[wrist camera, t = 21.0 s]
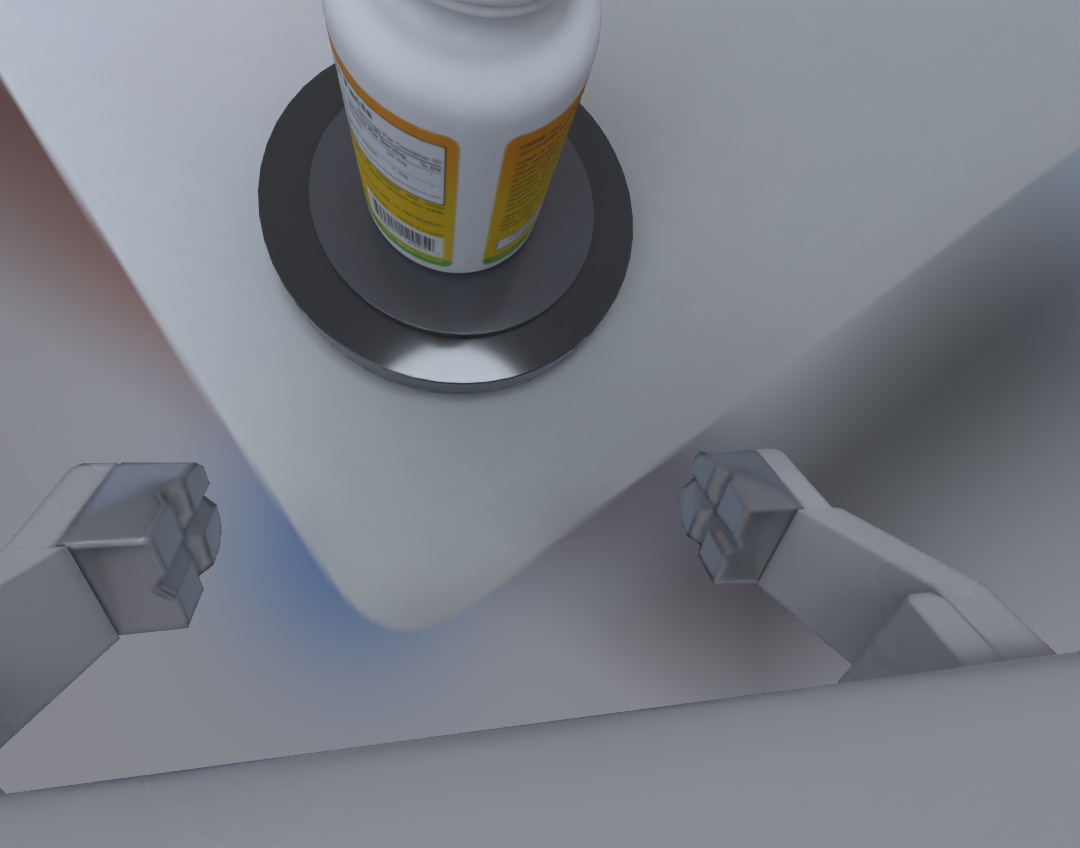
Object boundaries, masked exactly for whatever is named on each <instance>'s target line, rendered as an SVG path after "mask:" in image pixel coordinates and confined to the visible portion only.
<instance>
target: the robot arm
mask: <svg viewBox="0 0 1080 848" xmlns="http://www.w3.org/2000/svg"><path fill="white" fill-rule="evenodd" d="M690 469H691V472H692V474H693V476H694V478H693V479H692V480H691V481H690V482H689V483H688V484H686V485H685V486H684V487H683V490H682V494H681V497H680V500H679V515H680V519H681V523H682V526H683V528H684V530H685V532H686V534H687V536H688V537H689V538H691V539H692V540H694V541H695V542H696V543H698V544H699V545H701V546H700V549H699V553H698V556H699V558H700V560H701V562H702V564H703V566H704V567H705V569H706V571H707V573H708V575H709V577H710V578H711V580H712V582H713V584H714V585H721V584H741V583H758V584H757V585H758V586H759V587H760V588H761V589H762V590H764V591H765V592H766V593H767V594H768V595H770V596H771V597H772V598H773V599H774V600H776V601H777V602H778V603H779V604H780V605H781V606H783V607H784V608H785V609H786V610H788V611H789V612H790V613H791V614H792V615H793V616H795V617H796V618H797V619H798V620H799V621H801V622H802V623H803V624H804V625H805V626H807V627H808V628H809V629H810V630H811V631H813V632H814V633H815V634H816V635H817V636H819V637H820V638H821V639H822V640H823V641H824V642H826V643H827V644H828V645H829V646H830V647H832V648H833V649H834V650H835V651H836V652H837V653H839V654H840V655H841V656H843V657H844V658H845V659H846V660H847V661H848V662H849V663H851V664H852V665H851V666H850V667H849V668H848V670H847V671H846V672H845V673H844V675H843V676H842V677H841V678H840V680H839V681H838V683H837V684H830V685H823V686H815V687H807V688H800V689H792V690H785V691H778V692H769V693H762V694H754V695H747V696H739V697H732V698H724V699H717V700H709V701H702V702H694V703H687V704H679V705H672V706H664V707H656V708H649V709H641V710H634V711H626V712H619V713H611V714H603V715H596V716H588V717H581V718H573V719H566V720H558V721H550V722H543V723H535V724H528V725H520V726H513V727H505V728H497V729H490V730H482V731H475V732H467V733H459V734H452V735H444V736H437V737H429V738H422V739H414V740H407V741H399V742H392V743H384V744H377V745H369V746H362V747H354V748H347V749H340V750H332V751H324V752H317V753H309V754H302V755H294V756H287V757H279V758H272V759H264V760H257V761H249V762H241V763H234V764H226V765H219V766H212V767H205V768H196V769H189V770H181V771H174V772H167V773H159V774H152V775H144V776H137V777H129V778H121V779H113V780H106V781H98V782H91V783H83V784H76V785H69V786H61V787H54V788H46V789H39V790H31V791H24V792H16V793H8V794H5V792H4V791H3V790H2V789H1V788H0V848H1080V651H1077V652H1069V653H1062V654H1056V653H1055V652H1054V651H1053V650H1052V649H1051V648H1050V647H1049V646H1048V645H1047V644H1046V643H1045V642H1044V641H1043V640H1042V639H1041V638H1040V637H1039V636H1038V635H1037V634H1036V633H1035V632H1033V630H1031V628H1029V627H1028V626H1027V625H1026V624H1025V623H1024V622H1023V621H1022V620H1021V619H1020V618H1019V617H1018V616H1017V615H1016V614H1015V613H1014V612H1013V611H1012V610H1011V609H1010V608H1009V607H1008V606H1007V605H1006V604H1005V603H1004V602H1003V601H1001V600H1000V598H998V597H997V596H996V595H995V594H994V593H993V592H992V591H991V590H990V589H989V588H988V587H987V586H986V585H984V584H983V583H981V582H979V581H977V580H975V579H973V578H971V577H969V576H967V575H966V574H963V573H962V572H960V571H958V570H956V569H954V568H952V567H950V566H949V565H947V564H945V563H943V562H941V561H939V560H937V559H936V558H934V557H932V556H930V555H928V554H926V553H924V552H922V551H921V550H919V549H917V548H915V547H913V546H911V545H909V544H907V543H905V542H904V541H902V540H900V539H898V538H896V537H894V536H892V535H890V534H889V533H887V532H885V531H883V530H881V529H879V528H877V527H875V526H873V525H872V524H870V523H868V522H866V521H864V520H862V519H860V518H859V517H857V516H855V515H853V514H851V513H849V512H847V511H845V510H843V509H842V508H832V507H831V506H830V505H829V504H828V502H827V501H826V500H825V499H824V498H823V497H822V496H821V495H820V493H819V492H818V491H817V490H816V489H815V488H814V487H813V486H812V484H811V483H810V482H809V481H808V480H807V479H806V478H805V477H804V475H803V474H802V473H801V472H800V471H799V470H798V469H797V468H796V467H795V466H794V464H793V463H792V462H791V461H790V460H789V458H788V457H787V456H786V455H785V454H784V453H783V452H781V451H779V450H777V449H775V448H774V449H773V448H772V449H751V450H742V451H707V452H706V451H705V452H699V453H698V454H697V455H696V457H695V458H694V460H693V462H692V465H691V468H690ZM209 483H210V482H209V480H208V477H207V474H206V472H205V469H204V467H203V466H202V465H200V464H198V463H121V464H118V463H97V464H96V463H91V464H90V463H89V464H80V465H78V466H75V467H73V468H71V469H70V470H69V471H68V472H67V473H66V474H65V476H64V477H63V478H62V479H61V480H60V482H59V483H58V484H57V485H56V486H55V488H54V489H53V490H52V491H51V492H50V494H49V495H48V496H47V497H46V498H45V500H44V501H43V502H42V503H41V504H40V506H39V507H38V508H37V509H36V510H35V511H34V513H33V514H32V515H31V516H30V517H29V519H28V520H27V521H26V522H25V524H24V525H23V526H22V527H21V528H20V530H19V531H18V532H17V533H16V534H15V535H14V537H13V538H12V539H11V540H10V542H9V543H8V544H7V545H6V546H5V547H4V549H1V550H0V748H1V747H2V746H3V745H4V744H6V743H7V742H8V741H9V740H10V739H11V738H12V737H13V736H14V735H15V734H16V733H18V732H19V731H20V730H21V729H22V728H23V727H24V726H25V725H26V724H27V723H28V722H30V721H31V720H32V719H33V718H34V717H35V716H36V715H37V714H38V713H39V712H40V711H41V710H43V709H44V708H45V707H46V706H47V705H48V704H49V703H50V702H51V701H52V700H53V699H55V697H57V696H58V695H59V694H60V693H61V692H62V691H63V690H64V689H65V688H66V687H68V686H69V685H70V684H71V683H72V682H73V681H74V680H75V679H76V678H77V677H78V676H79V675H81V674H82V673H83V672H84V671H85V670H86V669H87V668H88V667H89V666H90V665H91V664H93V663H94V662H95V661H96V660H97V659H98V658H99V657H100V656H101V655H102V654H103V653H104V652H106V650H108V649H109V648H110V647H111V646H112V645H113V644H114V643H115V642H116V641H118V640H119V638H120V637H119V636H118V635H125V634H134V633H145V632H154V631H164V630H172V629H182V628H188V626H189V624H190V621H191V619H192V616H193V614H194V612H195V609H196V607H197V604H198V602H199V599H200V597H201V594H202V592H203V586H202V583H201V581H200V578H199V576H200V575H201V574H202V573H203V572H205V571H206V570H207V569H209V568H210V567H211V566H212V565H213V564H214V562H215V559H216V556H217V554H218V551H219V547H220V539H221V532H222V530H221V519H220V514H219V511H218V507H217V505H216V504H215V503H213V502H212V501H210V500H209V499H208V498H206V497H205V496H204V494H205V492H206V490H207V488H208V486H209Z"/></svg>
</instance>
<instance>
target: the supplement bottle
mask: <svg viewBox="0 0 1080 848" xmlns="http://www.w3.org/2000/svg"><path fill="white" fill-rule="evenodd" d="M322 4H323V10H324V16H325V22H326V27H327V31H328V35H329V39H330V44H331V48H332V52H333V56H334V61H335V65H336V69H337V74H338V78H339V83H340V87H341V92H342V97H343V101H344V105H345V110H346V114H347V119H348V122H349V127H350V132H351V136H352V141H353V145H354V149H355V154H356V158H357V163H358V167H359V171H360V176H361V180H362V185H363V190H364V193H365V197H366V201H367V204H368V207H369V210H370V213H371V215H372V217H373V219H374V221H375V223H376V225H377V226H378V228H379V230H380V231H381V232H382V234H383V235H384V236H385V238H386V239H387V240H388V241H389V242H390V243H391V244H392V245H393V246H394V247H395V248H396V249H397V250H398V251H399V252H401V253H402V254H403V255H405V256H406V257H408V258H409V259H411V260H413V261H414V262H416V263H418V264H421V265H423V266H425V267H428V268H431V269H433V270H438V271H442V272H449V273H470V272H476V271H480V270H484V269H487V268H490V267H493V266H495V265H497V264H499V263H501V262H502V261H504V260H506V259H507V258H509V257H510V256H511V255H513V254H514V253H515V252H516V251H517V250H518V249H519V248H520V247H521V246H522V245H523V244H524V242H525V241H526V239H527V238H528V236H529V235H530V233H531V231H532V229H533V227H534V224H535V222H536V220H537V218H538V215H539V212H540V209H541V207H542V204H543V200H544V198H545V195H546V192H547V189H548V187H549V184H550V181H551V178H552V175H553V172H554V170H555V167H556V164H557V162H558V159H559V156H560V153H561V151H562V148H563V145H564V142H565V139H566V137H567V134H568V131H569V129H570V126H571V123H572V120H573V118H574V115H575V112H576V110H577V107H578V104H579V102H580V99H581V96H582V94H583V91H584V88H585V85H586V82H587V79H588V77H589V74H590V70H591V67H592V64H593V61H594V57H595V54H596V50H597V46H598V42H599V34H600V24H601V8H600V0H322Z"/></svg>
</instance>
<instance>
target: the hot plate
mask: <svg viewBox="0 0 1080 848" xmlns="http://www.w3.org/2000/svg"><path fill="white" fill-rule="evenodd" d="M258 201H259V217H260V222H261V227H262V232H263V237H264V241H265V244H266V247H267V250H268V252H269V255H270V258H271V261H272V264H273V265H274V267H275V269H276V271H277V273H278V275H279V277H280V279H281V281H282V283H283V285H284V286H285V288H286V289H287V291H288V292H289V294H290V295H291V297H292V298H293V300H294V301H295V302H296V304H297V305H298V307H299V308H300V309H301V311H302V312H303V314H304V315H305V316H306V318H307V319H308V321H309V322H310V323H311V325H312V326H313V327H314V328H315V329H316V330H317V331H318V332H319V333H320V334H321V335H322V336H323V337H324V338H325V339H326V341H327V342H329V343H330V344H331V345H332V346H334V347H335V348H336V349H337V350H338V351H340V352H341V353H342V354H343V355H345V356H346V357H347V358H349V359H350V360H352V361H354V362H355V363H357V364H358V365H360V366H361V367H363V368H365V369H366V370H368V371H370V372H372V373H375V374H377V375H379V376H381V377H383V378H385V379H387V380H390V381H393V382H396V383H399V384H402V385H405V386H408V387H411V388H415V389H421V390H426V391H432V392H437V393H454V394H467V393H482V392H488V391H493V390H498V389H503V388H508V387H510V386H513V385H516V384H519V383H522V382H525V381H528V380H530V379H532V378H534V377H536V376H538V375H540V374H542V373H544V372H546V371H548V370H549V369H551V368H552V367H553V366H555V365H556V364H558V363H559V362H561V361H562V360H564V359H565V358H566V357H567V356H568V355H569V354H570V353H572V352H573V351H574V350H575V349H576V348H577V347H578V346H579V345H580V344H581V343H582V342H583V341H584V340H585V339H586V338H587V337H588V336H589V335H590V334H591V332H592V331H593V330H594V329H595V328H596V326H597V325H598V324H599V323H600V322H601V320H602V319H603V318H604V317H605V315H606V314H607V312H608V310H609V309H610V307H611V305H612V304H613V302H614V301H615V299H616V297H617V295H618V292H619V290H620V288H621V285H622V283H623V281H624V278H625V275H626V271H627V267H628V264H629V260H630V254H631V246H632V239H633V216H632V209H631V201H630V194H629V191H628V187H627V183H626V180H625V176H624V173H623V170H622V168H621V166H620V163H619V161H618V158H617V156H616V154H615V152H614V150H613V148H612V146H611V145H610V143H609V141H608V139H607V137H606V136H605V134H604V133H603V131H602V130H601V128H600V127H599V126H598V124H597V123H596V121H595V120H594V119H593V117H592V116H591V115H590V114H589V113H588V112H587V110H586V109H585V108H584V107H583V106H582V105H581V104H580V103H579V104H578V107H577V110H576V112H575V115H574V118H573V120H572V123H571V126H570V129H569V131H568V134H567V137H566V139H565V142H564V145H563V148H562V151H561V153H560V156H559V159H558V162H557V164H556V167H555V170H554V172H553V175H552V178H551V181H550V184H549V187H548V189H547V192H546V195H545V198H544V200H543V204H542V207H541V209H540V212H539V215H538V218H537V220H536V222H535V224H534V227H533V229H532V231H531V233H530V235H529V236H528V238H527V239H526V241H525V242H524V244H523V245H522V246H521V247H520V248H519V249H518V250H517V251H516V252H515V253H514V254H513V255H511V256H510V257H509V258H507V259H506V260H504V261H502V262H501V263H499V264H497V265H495V266H493V267H490V268H487V269H484V270H480V271H476V272H470V273H449V272H442V271H438V270H433V269H431V268H428V267H425V266H423V265H421V264H418V263H416V262H414V261H413V260H411V259H409V258H408V257H406V256H405V255H403V254H402V253H401V252H399V251H398V250H397V249H396V248H395V247H394V246H393V245H392V244H391V243H390V242H389V241H388V240H387V239H386V238H385V236H384V235H383V234H382V232H381V231H380V230H379V228H378V226H377V225H376V223H375V221H374V219H373V217H372V215H371V213H370V210H369V207H368V204H367V201H366V197H365V193H364V190H363V185H362V180H361V176H360V171H359V167H358V163H357V158H356V154H355V149H354V145H353V141H352V136H351V132H350V127H349V122H348V119H347V114H346V110H345V105H344V101H343V97H342V92H341V87H340V83H339V78H338V74H337V69H336V65H335V64H333V65H331V66H330V67H328V68H326V69H325V70H323V71H322V72H320V73H319V74H318V75H317V76H316V77H314V78H313V79H312V80H311V81H310V82H309V83H307V84H306V85H305V86H304V87H303V88H302V89H301V90H300V91H299V92H298V94H297V95H296V96H295V97H294V98H293V99H292V100H291V102H290V103H289V104H288V105H287V107H286V109H285V110H284V112H283V113H282V115H281V116H280V118H279V119H278V121H277V122H276V125H275V127H274V129H273V131H272V134H271V136H270V138H269V140H268V142H267V145H266V149H265V153H264V156H263V160H262V164H261V168H260V177H259V187H258Z"/></svg>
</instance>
